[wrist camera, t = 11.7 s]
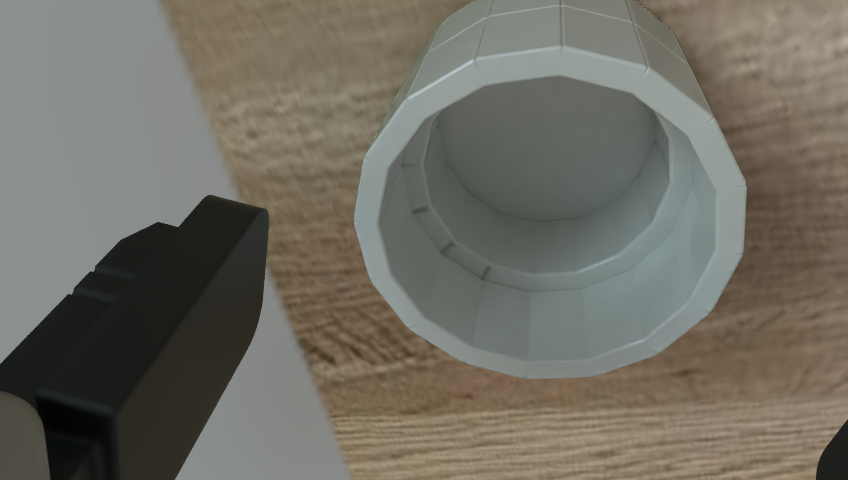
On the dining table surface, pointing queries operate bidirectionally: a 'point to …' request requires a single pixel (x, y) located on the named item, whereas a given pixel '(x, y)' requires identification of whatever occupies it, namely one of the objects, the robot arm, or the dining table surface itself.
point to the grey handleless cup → (551, 190)
